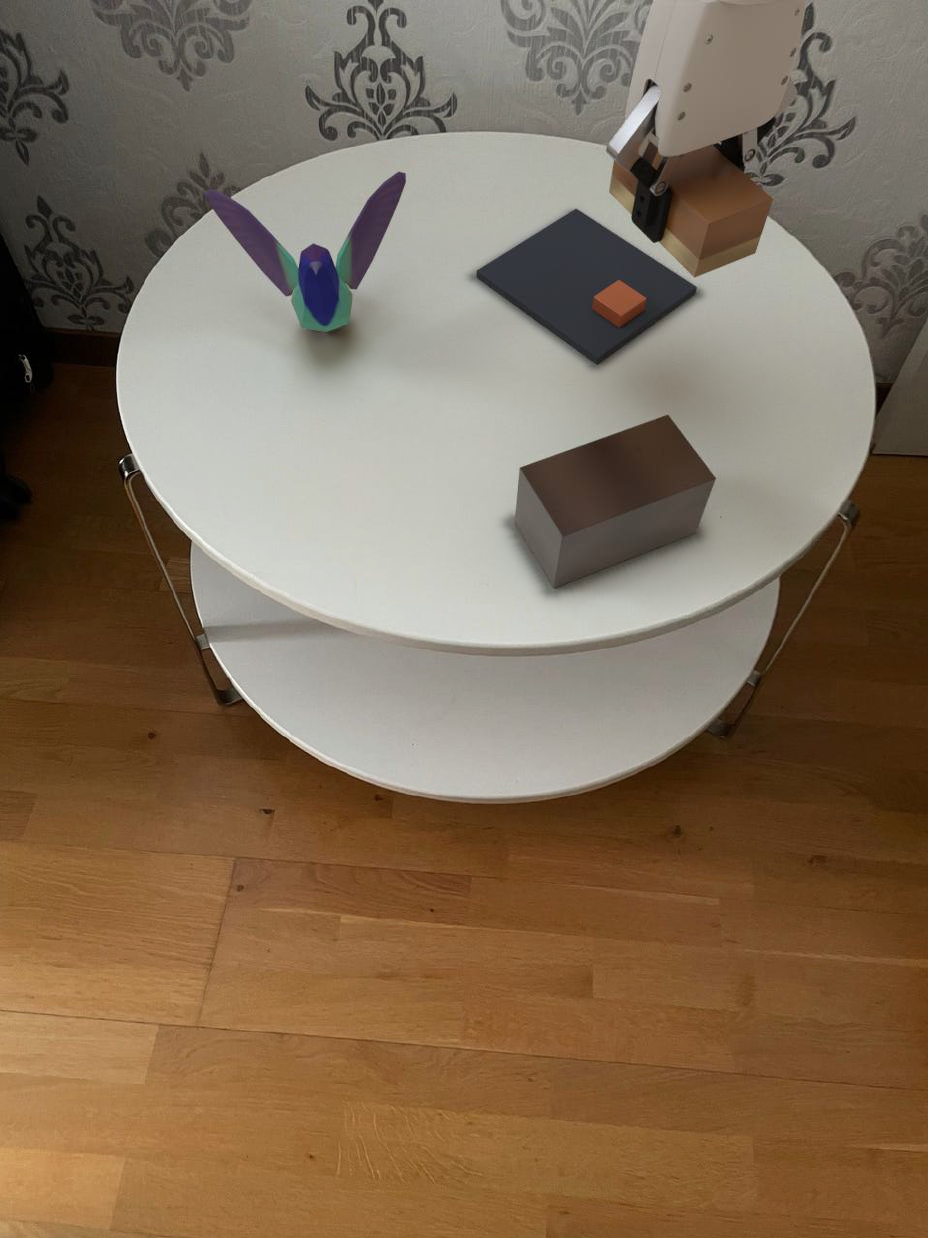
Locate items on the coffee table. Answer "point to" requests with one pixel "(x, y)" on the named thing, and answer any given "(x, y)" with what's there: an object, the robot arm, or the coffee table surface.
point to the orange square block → (619, 303)
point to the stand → (611, 499)
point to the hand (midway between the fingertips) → (681, 215)
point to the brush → (704, 209)
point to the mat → (583, 282)
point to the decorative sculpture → (315, 256)
